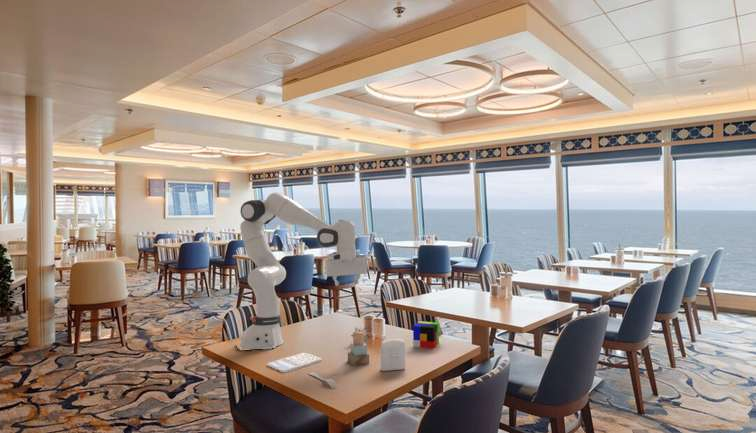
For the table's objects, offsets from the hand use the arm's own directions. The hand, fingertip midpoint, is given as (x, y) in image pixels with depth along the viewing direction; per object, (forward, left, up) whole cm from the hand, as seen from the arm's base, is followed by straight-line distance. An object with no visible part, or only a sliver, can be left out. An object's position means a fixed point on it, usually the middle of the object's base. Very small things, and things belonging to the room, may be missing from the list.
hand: (346, 284), depth 202 cm
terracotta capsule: (-1, -15, -23) cm, 28 cm away
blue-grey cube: (-1, -15, -27) cm, 31 cm away
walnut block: (-1, -16, -31) cm, 35 cm away
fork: (-22, -28, -32) cm, 48 cm away
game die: (+10, +8, -31) cm, 34 cm away
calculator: (-26, -4, -32) cm, 41 cm away
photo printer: (+8, -30, -31) cm, 44 cm away
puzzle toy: (+38, -8, -31) cm, 50 cm away
